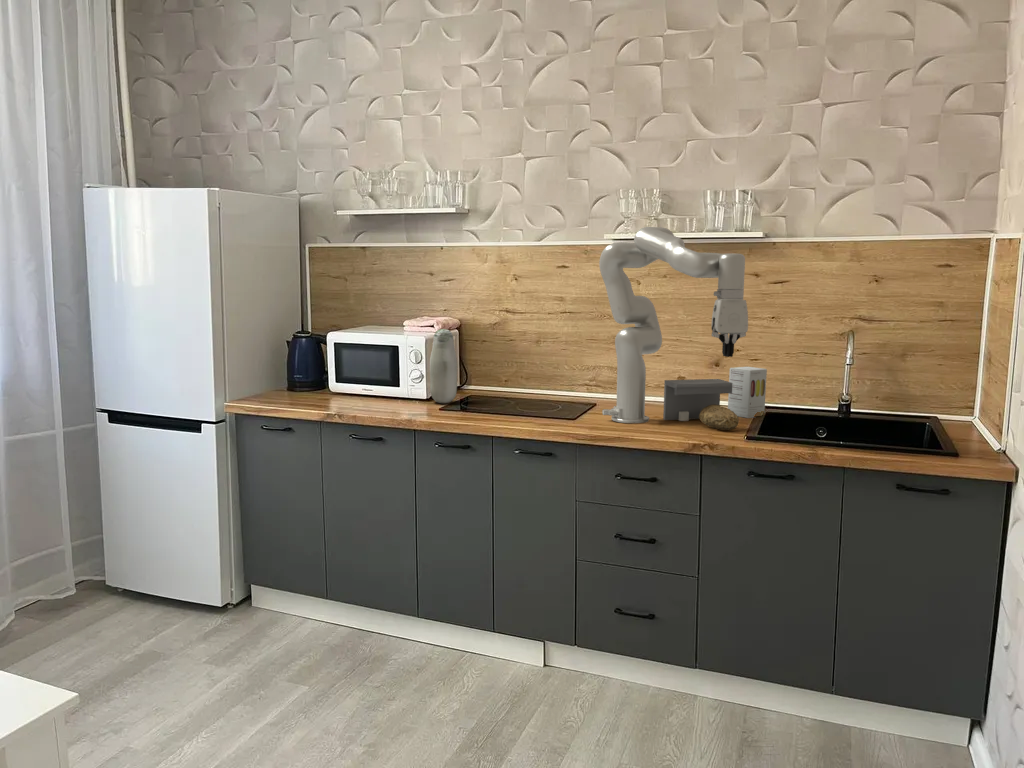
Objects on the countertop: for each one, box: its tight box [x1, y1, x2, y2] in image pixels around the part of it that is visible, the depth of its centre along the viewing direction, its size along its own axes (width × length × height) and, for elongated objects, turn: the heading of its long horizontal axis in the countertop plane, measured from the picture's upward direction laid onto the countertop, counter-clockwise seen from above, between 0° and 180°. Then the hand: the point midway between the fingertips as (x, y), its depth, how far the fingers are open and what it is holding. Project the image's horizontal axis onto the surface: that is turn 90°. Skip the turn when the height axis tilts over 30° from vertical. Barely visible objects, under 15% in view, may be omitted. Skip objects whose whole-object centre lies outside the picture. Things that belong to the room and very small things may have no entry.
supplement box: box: [727, 366, 768, 419], centre depth 294 cm, size 10×9×17 cm
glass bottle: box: [429, 328, 458, 404], centre depth 315 cm, size 10×10×28 cm
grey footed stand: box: [662, 378, 732, 422], centre depth 283 cm, size 20×10×14 cm, turn 103°
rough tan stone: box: [699, 404, 740, 431], centre depth 273 cm, size 13×8×20 cm
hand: (727, 356), depth 252 cm, fingers closed
